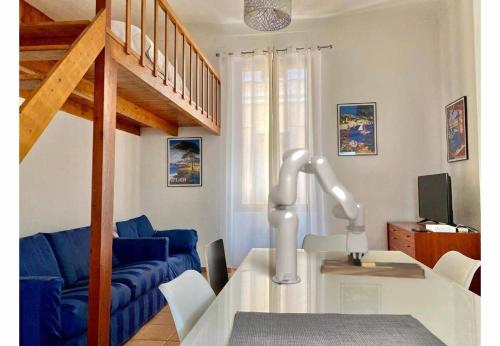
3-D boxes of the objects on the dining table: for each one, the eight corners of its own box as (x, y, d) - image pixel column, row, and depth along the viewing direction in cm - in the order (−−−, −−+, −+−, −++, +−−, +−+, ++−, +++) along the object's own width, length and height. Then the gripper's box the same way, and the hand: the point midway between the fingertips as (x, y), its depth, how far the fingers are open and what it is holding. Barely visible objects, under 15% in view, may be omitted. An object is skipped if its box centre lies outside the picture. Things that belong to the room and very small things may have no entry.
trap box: (424, 278, 169) (424, 269, 169) (321, 273, 179) (321, 264, 179) (418, 272, 181) (418, 263, 181) (322, 267, 191) (322, 259, 191)
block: (375, 274, 177) (375, 264, 177) (362, 274, 178) (362, 263, 178) (373, 271, 183) (373, 261, 183) (360, 271, 184) (360, 260, 184)
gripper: (341, 229, 180) (341, 267, 179) (373, 230, 177) (374, 269, 176) (340, 227, 187) (341, 264, 187) (372, 228, 184) (372, 265, 184)
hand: (357, 266), depth 181 cm, fingers closed
